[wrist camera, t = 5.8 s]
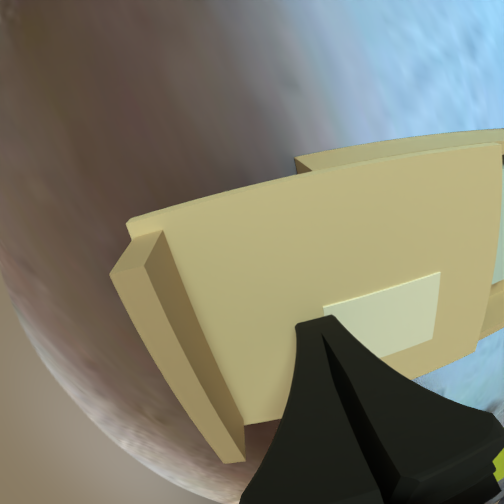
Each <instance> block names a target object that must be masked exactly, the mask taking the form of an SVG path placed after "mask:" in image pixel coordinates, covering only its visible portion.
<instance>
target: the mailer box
mask: <svg viewBox="0 0 504 504" xmlns="http://www.w3.org/2000/svg"><path fill="white" fill-rule="evenodd" d="M492 142H494V143H498V144H502V202H501V217H500V229H499V238H498V247H497V254H496V261H495V268H494V274H493V279H492V285H491V290H490V295H489V299H488V304H487V308H486V313H485V317H484V321H483V325H482V328H481V332H480V336H479V339H478V341H479V340H481V339H483V338H485V337H487V336H489V335H490V334H492V333H494V332H496V331H498V330H500V329H502V328H503V327H504V128H503V129H486V130H473V131H461V132H451V133H441V134H432V135H423V136H415V137H408V138H400V139H393V140H387V141H380V142H374V143H367V144H361V145H355V146H350V147H344V148H339V149H333V150H328V151H323V152H318V153H313V154H308V155H303V156H298V157H294V159H295V164H296V169H297V174H302V173H307V172H311V171H316V170H321V169H326V168H331V167H336V166H341V165H346V164H351V163H356V162H362V161H367V160H373V159H378V158H384V157H390V156H396V155H402V154H408V153H415V152H421V151H428V150H435V149H442V148H449V147H457V146H465V145H474V144H482V143H492Z"/></svg>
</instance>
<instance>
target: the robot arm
mask: <svg viewBox="0 0 504 504" xmlns="http://www.w3.org/2000/svg"><path fill="white" fill-rule="evenodd" d="M295 331H296V358H295V367H294V373H293V378H292V383H291V388H290V393H289V396H288V400H287V404H286V407H285V410H284V413H283V416H282V419H281V421H280V424H279V427H278V429H277V432H276V434H275V437H274V439H273V441H272V443H271V445H270V447H269V449H268V451H267V453H266V455H265V457H264V459H263V461H262V463H261V465H260V467H259V468H258V470H257V472H256V473H255V475H254V477H253V478H252V480H251V481H250V483H249V484H248V486H247V487H246V489H245V490H244V492H243V494H242V495H241V498H240V502H239V504H495V503H496V502H498V501H499V500H500V501H499V502H498V504H504V478H502V479H501V480H499V481H498V482H497V480H496V478H495V476H494V474H493V473H495V471H496V467H495V465H494V463H493V460H494V459H495V458H496V457H497V456H498V454H499V453H500V452H501V451H502V449H503V448H504V428H503V426H502V425H501V423H500V422H499V421H498V420H497V419H496V417H495V416H494V415H493V413H489V412H486V411H482V410H478V409H475V408H471V407H468V406H465V405H462V404H460V403H457V402H454V401H452V400H449V399H447V398H445V397H443V396H441V395H438V394H436V393H434V392H432V391H430V390H428V389H426V388H424V387H422V386H420V385H419V384H417V383H415V382H413V381H412V380H410V379H408V378H407V377H405V376H404V375H402V374H400V373H399V372H397V371H396V370H394V369H393V368H392V367H390V366H389V365H387V364H386V363H385V362H384V361H382V360H381V359H380V358H378V357H377V356H376V355H375V354H373V353H372V352H371V351H370V350H369V349H368V348H366V347H365V346H364V345H363V344H362V343H361V342H360V341H358V340H357V339H356V338H355V337H354V336H353V335H352V334H351V333H350V332H349V331H348V330H347V329H346V328H345V327H344V326H343V325H342V324H341V323H340V321H339V320H338V319H337V318H336V317H335V316H334V315H332V314H331V315H327V316H323V317H320V318H316V319H312V320H308V321H304V322H300V323H297V324H296V325H295Z"/></svg>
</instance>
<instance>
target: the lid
mask: <svg viewBox="0 0 504 504" xmlns="http://www.w3.org/2000/svg"><path fill="white" fill-rule="evenodd" d="M501 202H502V144H498V143H494V142H492V143H482V144H474V145H465V146H457V147H449V148H442V149H435V150H428V151H421V152H415V153H408V154H402V155H396V156H390V157H384V158H378V159H373V160H367V161H362V162H356V163H351V164H346V165H341V166H336V167H331V168H326V169H321V170H316V171H311V172H307V173H302V174H298V175H293V176H289V177H284V178H280V179H275V180H271V181H267V182H263V183H258V184H254V185H250V186H246V187H242V188H238V189H234V190H230V191H226V192H222V193H219V194H215V195H211V196H207V197H204V198H200V199H196V200H193V201H189V202H185V203H182V204H178V205H175V206H171V207H168V208H164V209H161V210H157V211H154V212H151V213H147V214H144V215H141V216H137V217H134V218H131V219H130V220H129V221H128V222H127V223H126V226H127V228H128V231H129V233H130V236H131V239H132V241H131V243H130V244H129V246H128V247H127V249H126V250H125V251H124V253H123V254H122V256H121V257H120V259H119V260H118V262H117V263H116V265H115V266H114V268H113V269H112V271H111V272H110V274H109V275H110V277H111V279H112V282H113V284H114V286H115V288H116V290H117V292H118V294H119V296H120V298H121V300H122V302H123V304H124V306H125V308H126V310H127V312H128V314H129V316H130V318H131V320H132V322H133V323H134V325H135V327H136V329H137V331H138V333H139V335H140V336H141V338H142V340H143V342H144V344H145V345H146V347H147V349H148V351H149V352H150V354H151V356H152V358H153V359H154V361H155V363H156V364H157V366H158V368H159V369H160V371H161V373H162V374H163V376H164V378H165V379H166V381H167V383H168V384H169V386H170V387H171V389H172V390H173V392H174V394H175V395H176V397H177V398H178V400H179V401H180V403H181V404H182V406H183V407H184V409H185V410H186V412H187V413H188V415H189V416H190V418H191V419H192V421H193V422H194V424H195V425H196V426H197V428H198V429H199V431H200V432H201V433H202V435H203V436H204V438H205V439H206V440H207V442H208V443H209V444H210V446H211V447H212V448H213V450H214V451H215V452H216V454H217V455H218V456H219V458H220V459H221V460H222V462H223V463H224V464H226V463H235V462H242V461H246V452H245V436H244V425H249V424H254V423H260V422H265V421H271V420H276V419H281V418H282V416H283V413H284V410H285V407H286V404H287V400H288V396H289V393H290V388H291V383H292V378H293V373H294V367H295V358H296V331H295V325H296V324H297V323H300V322H304V321H308V320H312V319H316V318H320V317H323V316H327V315H331V314H332V315H334V316H335V317H336V318H337V319H338V320H339V321H340V323H341V324H342V325H343V326H344V327H345V328H346V329H347V330H348V331H349V332H350V333H351V334H352V335H353V336H354V337H355V338H356V339H357V340H358V341H360V342H361V343H362V344H363V345H364V346H365V347H366V348H368V349H369V350H370V351H371V352H372V353H373V354H375V355H376V356H377V357H378V358H380V359H381V360H382V361H384V362H385V363H386V364H387V365H389V366H390V367H392V368H393V369H394V370H396V371H397V372H399V373H400V374H402V375H404V376H405V377H407V378H408V379H410V380H412V379H415V378H417V377H420V376H422V375H424V374H427V373H429V372H432V371H434V370H436V369H439V368H441V367H443V366H445V365H448V364H450V363H452V362H454V361H456V360H458V359H461V358H463V357H465V356H467V355H469V354H471V353H473V352H475V349H476V346H477V343H478V339H479V336H480V332H481V328H482V325H483V321H484V317H485V313H486V308H487V304H488V299H489V295H490V290H491V285H492V279H493V274H494V268H495V261H496V254H497V247H498V238H499V229H500V217H501Z"/></svg>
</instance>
